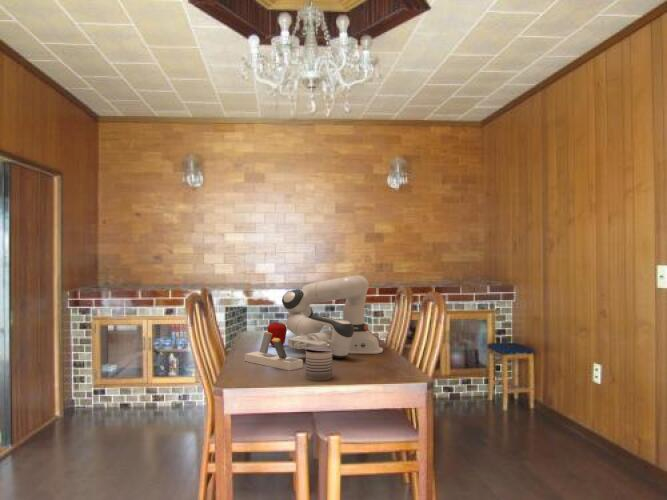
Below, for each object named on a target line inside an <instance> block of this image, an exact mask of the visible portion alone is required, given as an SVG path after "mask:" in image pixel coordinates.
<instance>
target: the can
mask: <svg viewBox="0 0 667 500" xmlns="http://www.w3.org/2000/svg"><path fill="white" fill-rule="evenodd" d="M306 349H307V350H306ZM306 349H305V378H306V379H309V380H314V381H323V380H329V379H333V357H332V349H329V348H321V347H307V348H306Z"/></svg>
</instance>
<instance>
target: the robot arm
mask: <svg viewBox="0 0 667 500" xmlns="http://www.w3.org/2000/svg"><path fill="white" fill-rule="evenodd" d="M369 287H370V283H369V281H368V279H366V278H365V277H364V276H362V275H349V276H343V277H339V278H338V277H337V278H333V279H327V280H320V281H315V282H311V283H308V284H306V285H304V286H303V287H302V288H301V289H293V290H289V291H287V292H286V293H285V294H283V296H282V298H281V302H282V304H283V307H284V309H286V311H287V312H288V314H289V316H288V318H286V324H285V325H286V327H287V329H288V330H289V331H290V332H291V333H293V334H294V335H295V336H292V337H289V338H288V342H287V345H288V346H289V347H293V348H294V349H295V350H296V349H297V350H302V349H303V350H305V351H306V350H307V349H306V348H307V347H321V348H329V349H332V359H333V358H334V359H344V358H346V357H348V355H349V354H367V355H368V354H371V355H372V354H373V355H374V354H376V355H377V354H380V353H381V354H382V353H383V351H384V348H383V347H381V346H379V345H380V344H379V340H378V338H377V336H375V335H374V334H372V333H371V332H370V331H369V325H368V324H367V323H365V307H366V306H365V305H366V300H367V293H368V291H369ZM338 300H345V302H344V305H343V309H342V320H341V319H336V318H334V317H333V318H332V317H328V316H324V315H314V311H313V308H312V307H311V306H310V305H312V304H314V303H323V302H330V301H338ZM323 327H328V328H332V330H330V329H329V330H323V331H322V329H323Z"/></svg>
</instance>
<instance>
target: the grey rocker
mask: <svg viewBox="0 0 667 500" xmlns="http://www.w3.org/2000/svg"><path fill="white" fill-rule="evenodd" d="M271 336H272V333H270V332H268V331H263V337H262V341H261V344H260V348H259V351H258V352H260V353H265V354H267V353H268V351H269V348H270V345H271V344H270V340H271Z"/></svg>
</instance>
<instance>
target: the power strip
mask: <svg viewBox="0 0 667 500" xmlns="http://www.w3.org/2000/svg"><path fill="white" fill-rule="evenodd" d="M244 361H245V362H246V361H247V363H252V364H257V365H262V366H266V367H271V368H275V369H279V370H280V369H281V370H285V371H290V372H291V371H294V370H298V369H299V370H300V369H301V368H303V366H304V365H303V363H304V360H303V359H302V358H295V357H290V356H287V357H286V358H285V359H283V358H279V356H278V354H273V353H268V352H267V354H265V353H260V352H259V351H258V350H257V351H252V352H248V353H244Z"/></svg>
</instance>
